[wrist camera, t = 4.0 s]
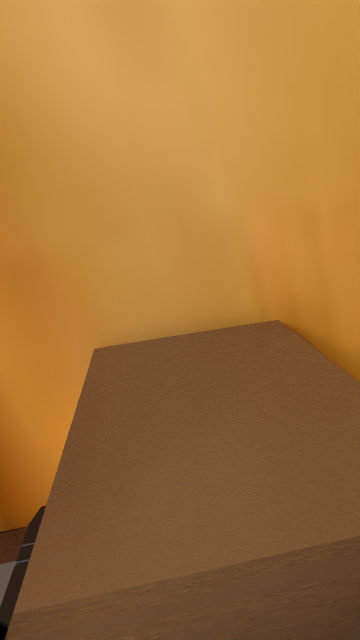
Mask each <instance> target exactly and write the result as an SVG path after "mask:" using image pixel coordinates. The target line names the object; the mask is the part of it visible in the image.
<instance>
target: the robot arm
mask: <svg viewBox="0 0 360 640" xmlns="http://www.w3.org/2000/svg"><path fill="white" fill-rule="evenodd" d="M45 508H46V506H42V507H41V508H40V510H39V511H38V512H37V514H36V515H35V516H34V518H33V519H32V521H31V522H30V523H29V525H28V528H27V531H26V534H25V537H24V540H23V543H22V548H20V551H19V554H18V557H17V560H16V565H15V566H14V568H13V571H12V574H11V577H10V580H9V583H8V586H7V589H6V592H5V594H4V597H3V600H2V603H1V606H0V640H5V638H6V635H7V632H8V628H9V625H10V622H11V619H12V615H13V612H14V609H15V606H16V602H17V599H18V596H19V593H20V589H21V586H22V583H23V580H24V576H25V573H26V570H27V567H28V563H29V560H30V557H31V554H32V550H33V547H34V544H35V541H36V537H37V534H38V531H39V528H40V524H41V521H42V518H43V515H44V511H45Z"/></svg>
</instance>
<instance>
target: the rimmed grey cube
mask: <svg viewBox="0 0 360 640" xmlns="http://www.w3.org/2000/svg"><path fill="white" fill-rule="evenodd" d="M5 640H360V383H359V382H358V381H357V380H355V379H354V378H353V377H351V376H350V375H349V374H348V373H346V372H345V371H344V370H342V369H341V368H340V367H339V366H337V365H336V364H335V363H333V362H332V361H331V360H329V359H328V358H327V357H326V356H324V355H323V354H322V353H320V352H319V351H318V350H316V349H315V348H314V347H313V346H311V345H310V344H309V343H307V342H306V341H305V340H303V339H302V338H301V337H300V336H298V335H297V334H296V333H294V332H293V331H292V330H290V329H289V328H288V327H287V326H285V325H284V324H283V323H281V322H280V321H279V320H274V321H268V322H261V323H255V324H249V325H242V326H236V327H230V328H223V329H217V330H211V331H204V332H198V333H192V334H185V335H179V336H173V337H166V338H160V339H154V340H147V341H141V342H135V343H128V344H122V345H116V346H109V347H103V348H97V349H94V352H93V356H92V359H91V362H90V365H89V369H88V372H87V375H86V378H85V382H84V385H83V388H82V391H81V395H80V398H79V401H78V404H77V408H76V411H75V414H74V417H73V420H72V424H71V427H70V430H69V433H68V437H67V440H66V443H65V446H64V450H63V453H62V456H61V459H60V463H59V466H58V469H57V472H56V476H55V479H54V482H53V485H52V489H51V492H50V495H49V498H48V502H47V505H46V508H45V511H44V515H43V518H42V521H41V524H40V528H39V531H38V534H37V537H36V541H35V544H34V547H33V550H32V554H31V557H30V560H29V563H28V567H27V570H26V573H25V576H24V580H23V583H22V586H21V589H20V593H19V596H18V599H17V602H16V606H15V609H14V612H13V615H12V619H11V622H10V625H9V628H8V632H7V635H6V638H5Z"/></svg>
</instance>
